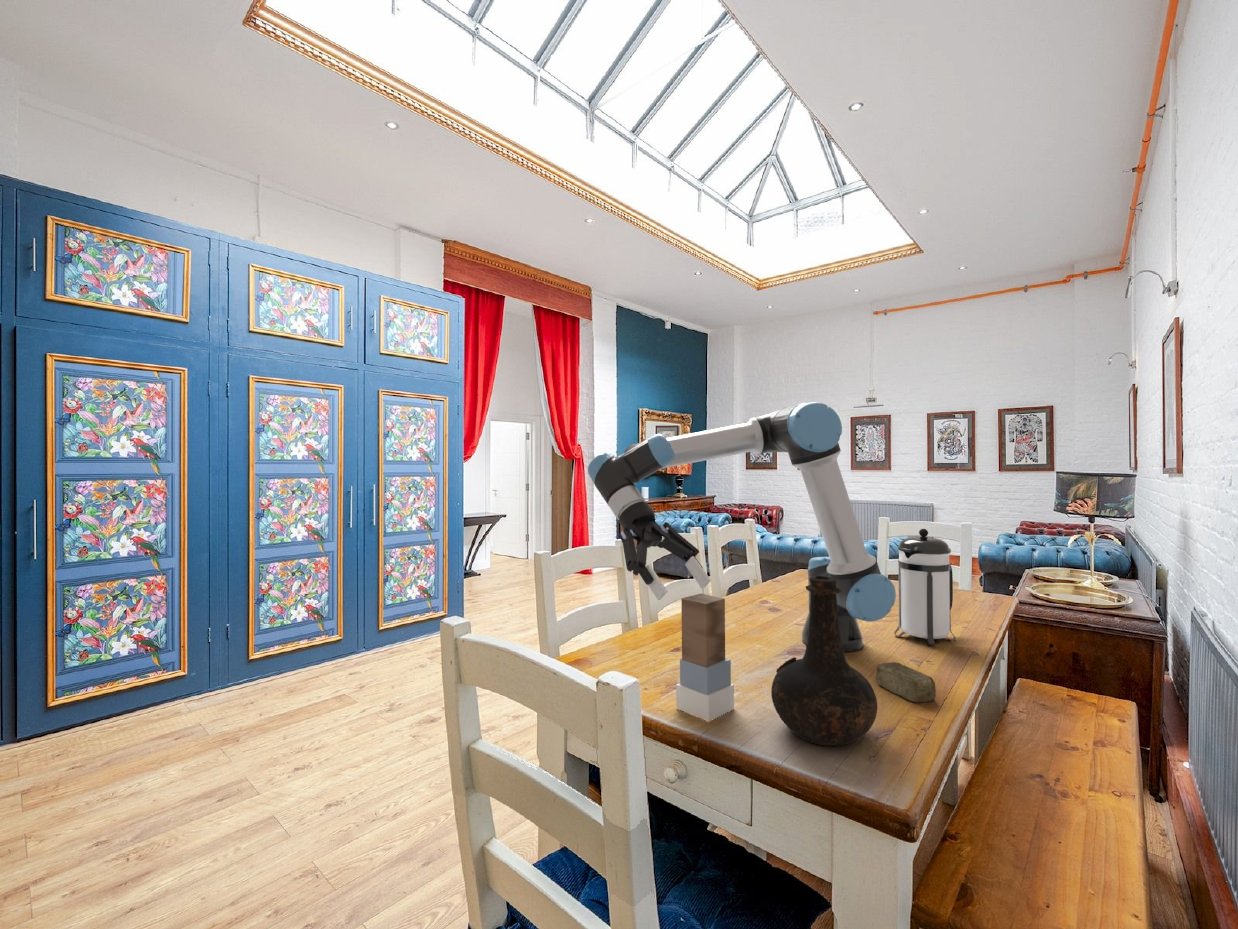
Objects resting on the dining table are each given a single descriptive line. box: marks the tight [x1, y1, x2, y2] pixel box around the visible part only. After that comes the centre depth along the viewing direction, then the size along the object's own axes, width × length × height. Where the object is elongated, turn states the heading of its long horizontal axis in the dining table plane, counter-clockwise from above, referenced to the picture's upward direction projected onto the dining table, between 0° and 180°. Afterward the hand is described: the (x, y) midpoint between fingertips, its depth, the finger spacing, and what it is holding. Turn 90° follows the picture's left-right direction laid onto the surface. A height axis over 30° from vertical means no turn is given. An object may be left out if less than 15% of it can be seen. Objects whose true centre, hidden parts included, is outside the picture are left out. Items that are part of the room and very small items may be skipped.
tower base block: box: [675, 682, 735, 722], centre depth 111 cm, size 8×8×5 cm
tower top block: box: [679, 657, 732, 695], centre depth 111 cm, size 7×7×5 cm
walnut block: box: [681, 593, 726, 667], centre depth 111 cm, size 6×6×12 cm
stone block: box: [875, 661, 937, 704], centre depth 118 cm, size 6×12×5 cm, turn 18°
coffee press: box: [893, 528, 956, 647], centre depth 155 cm, size 17×16×30 cm
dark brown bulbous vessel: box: [770, 576, 878, 747], centre depth 100 cm, size 18×18×28 cm
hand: (685, 590), depth 113 cm, fingers open, 13 cm apart
